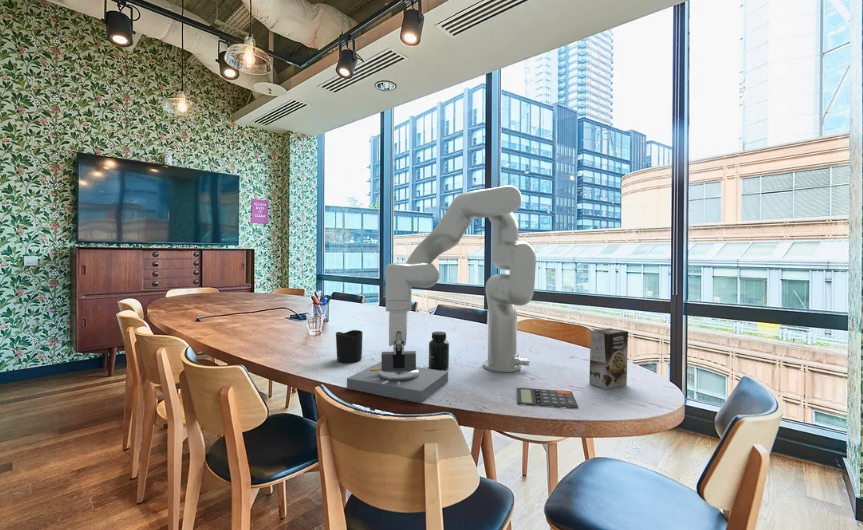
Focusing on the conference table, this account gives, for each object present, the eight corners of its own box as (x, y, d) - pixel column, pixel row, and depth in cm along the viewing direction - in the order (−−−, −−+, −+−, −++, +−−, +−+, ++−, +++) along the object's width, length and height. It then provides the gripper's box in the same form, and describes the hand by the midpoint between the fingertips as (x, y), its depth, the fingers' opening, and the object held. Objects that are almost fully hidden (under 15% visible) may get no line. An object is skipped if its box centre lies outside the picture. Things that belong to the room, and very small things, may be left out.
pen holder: (341, 356, 149) (341, 329, 148) (366, 357, 148) (365, 330, 147) (331, 363, 140) (331, 335, 139) (357, 364, 138) (357, 335, 138)
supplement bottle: (425, 369, 132) (425, 333, 132) (433, 364, 139) (433, 330, 138) (444, 372, 130) (444, 335, 129) (451, 366, 136) (451, 331, 135)
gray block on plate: (418, 367, 124) (418, 347, 124) (420, 380, 112) (420, 357, 112) (371, 368, 123) (370, 348, 123) (368, 381, 111) (368, 359, 111)
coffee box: (606, 390, 114) (608, 334, 113) (588, 383, 119) (589, 329, 118) (627, 385, 118) (629, 331, 117) (609, 378, 123) (610, 327, 123)
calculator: (578, 406, 100) (517, 402, 103) (578, 410, 101) (517, 405, 103) (571, 390, 112) (516, 386, 115) (571, 393, 112) (516, 390, 115)
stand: (448, 381, 121) (448, 370, 121) (421, 402, 105) (421, 390, 104) (380, 370, 131) (380, 361, 131) (346, 388, 115) (346, 377, 115)
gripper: (386, 301, 125) (386, 355, 126) (384, 310, 108) (385, 372, 109) (410, 301, 126) (410, 354, 126) (412, 309, 108) (412, 371, 109)
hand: (398, 363), depth 117 cm, fingers open, 9 cm apart
